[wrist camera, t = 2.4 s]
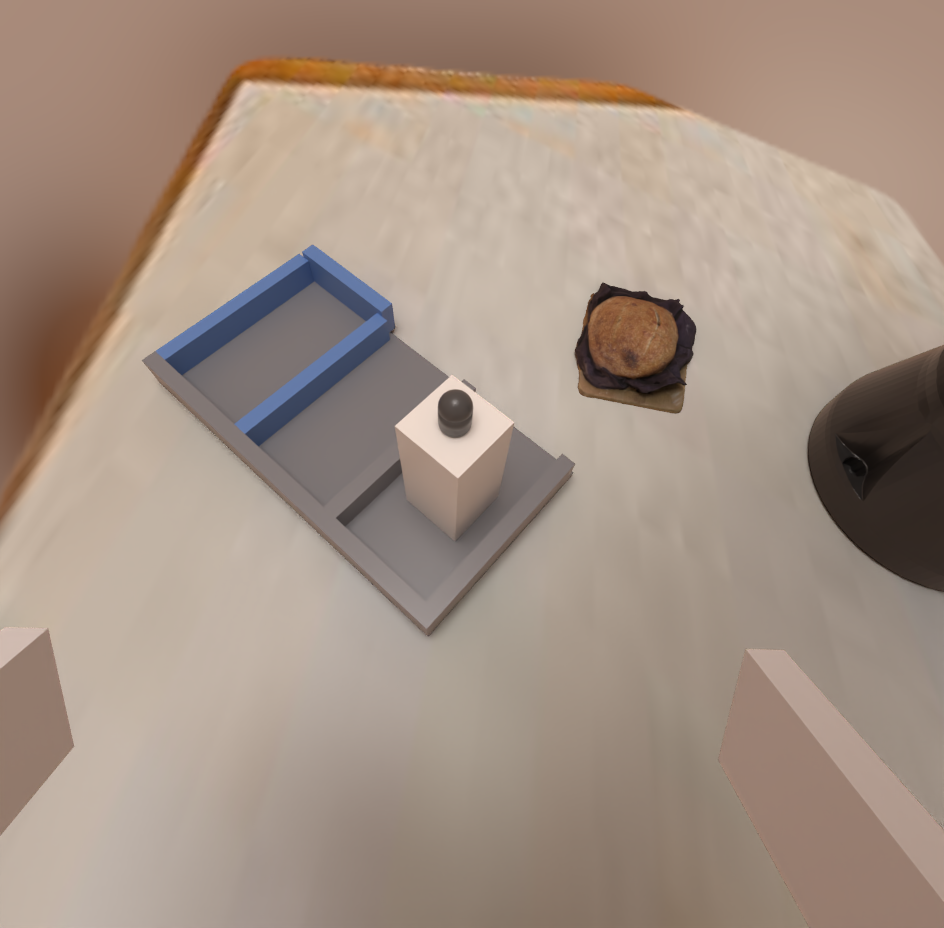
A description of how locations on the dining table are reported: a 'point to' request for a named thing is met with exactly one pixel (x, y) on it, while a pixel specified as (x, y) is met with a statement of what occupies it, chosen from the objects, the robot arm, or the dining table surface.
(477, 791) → the dining table surface
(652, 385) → the bun on dark wrapper
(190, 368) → the gray divided tray
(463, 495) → the cream block with knob
